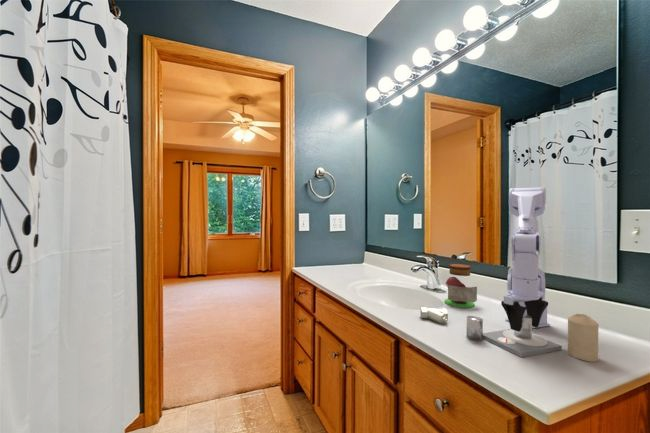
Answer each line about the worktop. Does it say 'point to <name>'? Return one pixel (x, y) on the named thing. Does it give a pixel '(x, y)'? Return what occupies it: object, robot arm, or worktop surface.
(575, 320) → the candle
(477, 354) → the worktop surface
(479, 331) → the cylinder
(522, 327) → the cylinder
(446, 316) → the pipe fitting
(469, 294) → the multicoloured stacked round part
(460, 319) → the worktop surface
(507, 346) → the scale
